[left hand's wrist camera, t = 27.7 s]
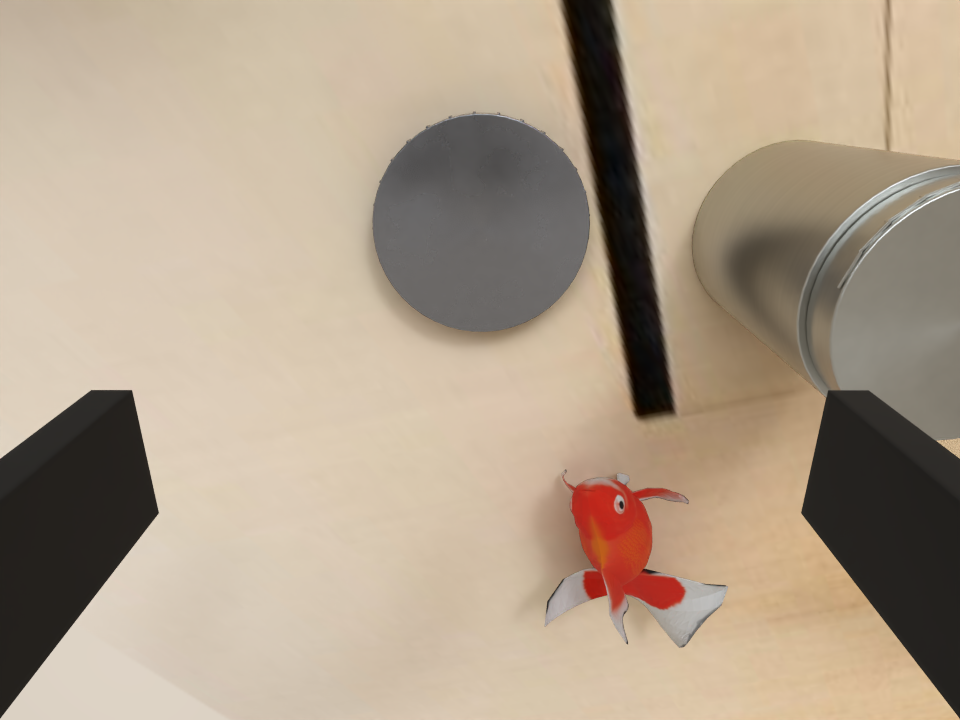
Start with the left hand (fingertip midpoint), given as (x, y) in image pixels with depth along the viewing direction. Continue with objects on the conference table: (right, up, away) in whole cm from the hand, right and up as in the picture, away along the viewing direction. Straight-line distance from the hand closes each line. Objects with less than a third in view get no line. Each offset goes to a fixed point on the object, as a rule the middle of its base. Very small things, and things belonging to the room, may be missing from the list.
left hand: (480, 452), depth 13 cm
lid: (0, +9, +22) cm, 24 cm away
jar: (+17, +9, +24) cm, 31 cm away
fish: (+10, -9, +31) cm, 34 cm away
